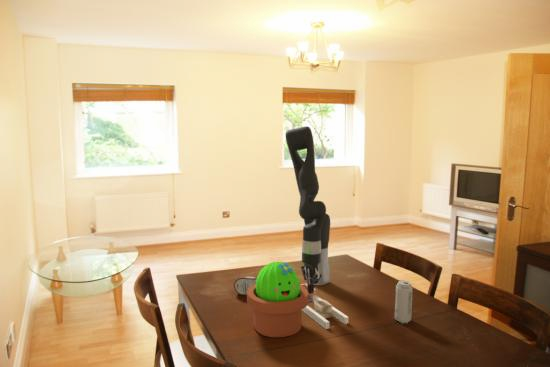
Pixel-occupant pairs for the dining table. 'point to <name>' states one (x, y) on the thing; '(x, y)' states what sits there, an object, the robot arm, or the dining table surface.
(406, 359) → the dining table surface
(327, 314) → the block
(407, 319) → the energy drink can
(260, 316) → the potted cactus
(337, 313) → the rail channel
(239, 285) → the tin
